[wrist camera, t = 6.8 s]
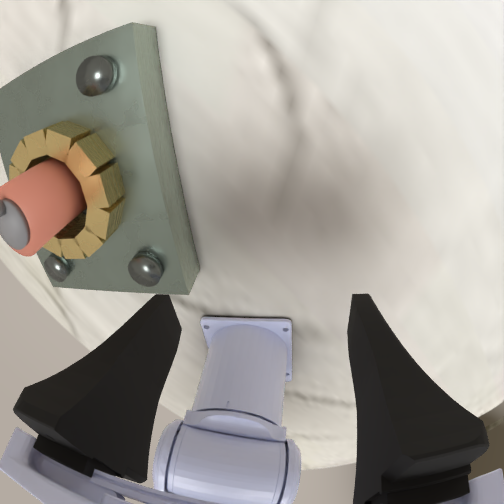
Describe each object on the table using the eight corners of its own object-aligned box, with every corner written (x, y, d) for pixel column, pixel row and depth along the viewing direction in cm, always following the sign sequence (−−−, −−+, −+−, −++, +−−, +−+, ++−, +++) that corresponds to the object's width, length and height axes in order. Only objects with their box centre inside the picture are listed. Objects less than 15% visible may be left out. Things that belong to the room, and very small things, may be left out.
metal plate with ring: (199, 269, 24) (180, 314, 20) (69, 267, 26) (41, 300, 22) (155, 26, 14) (112, 18, 10) (14, 89, 16) (-30, 103, 12)
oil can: (112, 200, 19) (36, 270, 13) (68, 204, 20) (-3, 266, 13) (97, 140, 17) (5, 192, 10) (54, 150, 18) (-30, 200, 11)
